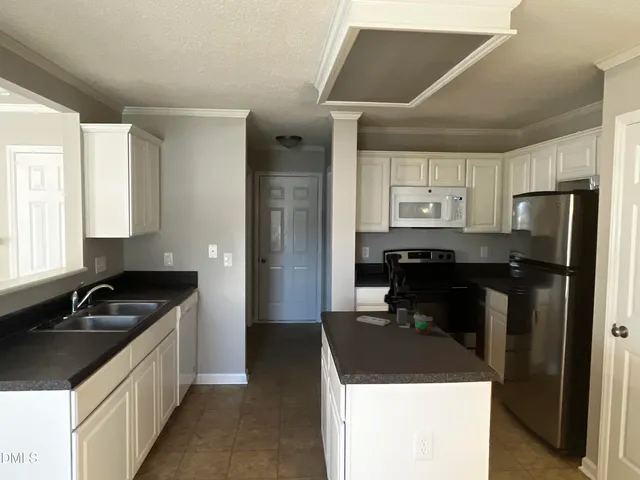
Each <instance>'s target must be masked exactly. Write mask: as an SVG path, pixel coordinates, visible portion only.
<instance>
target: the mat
mask: <svg viewBox="0 0 640 480" xmlns="http://www.w3.org/2000/svg"><path fill="white" fill-rule="evenodd" d="M410 326H411V323H409V322H407V323H406V326H399V324H398V325H396V326H395V328H402V329H410V328H411V327H410Z"/></svg>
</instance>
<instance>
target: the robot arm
mask: <svg viewBox="0 0 640 480" xmlns="http://www.w3.org/2000/svg"><path fill="white" fill-rule="evenodd" d="M384 258H385V259H384V260H385V263H386V265H387V267H388V279H389V283H388V284H389V288H388V290H387V293H385V294H384V296H383V302H384V303H385V304H386V305H387V306H388V307H387V311H386V313H387V314H396V315H397V308H398V305H400V304H401V301H408V310H409V311H408V312H410V313H411V309H412V305H415V304H416V303H417V301H418V296H417V294H410V293H409V296H406V295H407V293H408V292H409V291H410V286H409V285H404V284H405V281H406V277H407V274H406V273H405V271H403V268H401V267H400V262H399V260H400V254H398V253H396V252H393V253H388V252H387V253H386V254H385V256H384ZM384 303H383V304H384Z"/></svg>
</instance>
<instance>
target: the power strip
mask: <svg viewBox="0 0 640 480" xmlns="http://www.w3.org/2000/svg"><path fill="white" fill-rule="evenodd" d="M356 321H358V322H363V323H367V324H373V325H378V326H386V325H388V324H390V323H391V320H389V319H385V318H381V317H374V316H370V315H369V316H367V315H361V316H359V317H357V318H356Z"/></svg>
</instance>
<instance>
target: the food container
mask: <svg viewBox="0 0 640 480" xmlns="http://www.w3.org/2000/svg"><path fill="white" fill-rule="evenodd" d="M413 319H414V323H415V324H414V326H415V334H418V335H422V336H431V332H432V325H433V324H432V323H433V316H427V315H425V314H421V313H420V312H418V311H417V312H414V315H413Z"/></svg>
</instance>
